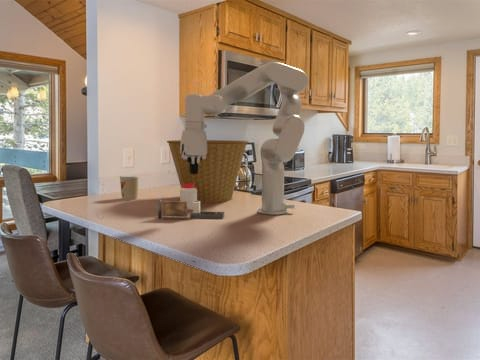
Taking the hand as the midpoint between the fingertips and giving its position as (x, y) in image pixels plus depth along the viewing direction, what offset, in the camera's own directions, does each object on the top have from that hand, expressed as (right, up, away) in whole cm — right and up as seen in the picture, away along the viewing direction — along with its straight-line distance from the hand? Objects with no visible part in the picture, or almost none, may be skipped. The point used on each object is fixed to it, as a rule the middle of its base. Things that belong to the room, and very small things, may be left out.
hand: (193, 173), depth 151 cm
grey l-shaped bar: (-9, -18, +1) cm, 20 cm away
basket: (+2, -12, +50) cm, 52 cm away
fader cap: (+1, -16, +5) cm, 17 cm away
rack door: (-8, -17, +1) cm, 18 cm away
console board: (+5, -17, +5) cm, 19 cm away
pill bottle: (-5, -15, +24) cm, 29 cm away
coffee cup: (-39, -12, +47) cm, 62 cm away
